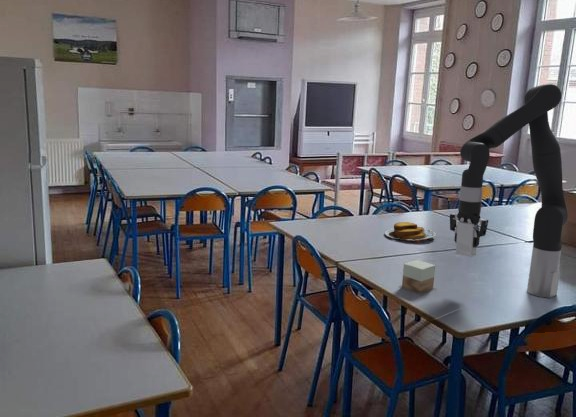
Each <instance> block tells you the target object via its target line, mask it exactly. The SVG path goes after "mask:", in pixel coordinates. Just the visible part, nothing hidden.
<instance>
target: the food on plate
mask: <svg viewBox="0 0 576 417" xmlns="http://www.w3.org/2000/svg"><path fill="white" fill-rule="evenodd" d="M433 230H434V229H428V228H424V227H423V226H418V224H417V223H414V222H406V221H399V222H395V223H394V224H393V227H392V228H389V229H387V230H385V232H384V235H386V236H387V237H389V238H391V239H396V240H399V239H400V241H413V242H415V241H416V243H417V244H419V243H420V241H423V240H428V239H431V238H432V239H435V236H436V235H437V233H436V232H435V231H433Z"/></svg>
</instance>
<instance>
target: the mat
mask: <svg viewBox="0 0 576 417" xmlns="http://www.w3.org/2000/svg"><path fill="white" fill-rule="evenodd" d="M398 288H400V289H402V290H403V289H404V290H406V291H408V292H412V293H415V294H417V295H419V296H422V295H425V294H427V293H430V292H433V291H435V290H437V288H436V287H433V289H431V290H428V291H425V292H423V293H418V292H415V291H412V290H409V289H406V288H403V287H402V285H399V286H398Z"/></svg>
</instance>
